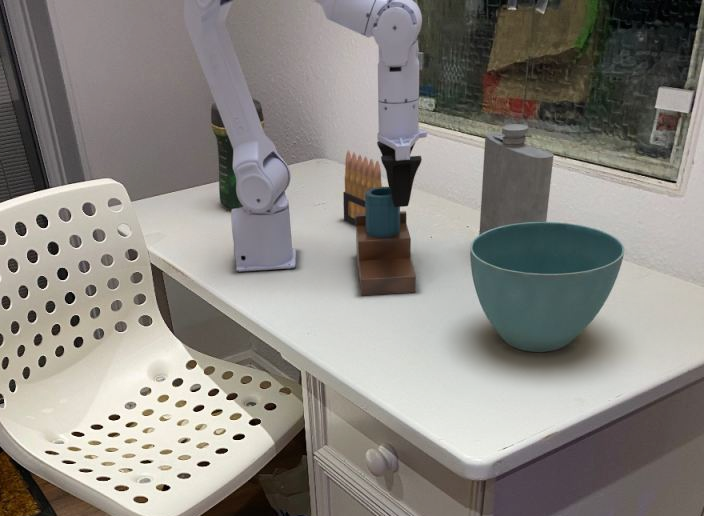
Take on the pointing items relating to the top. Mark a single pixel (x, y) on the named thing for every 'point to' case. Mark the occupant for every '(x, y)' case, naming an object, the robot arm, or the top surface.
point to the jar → (381, 213)
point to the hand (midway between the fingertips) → (398, 198)
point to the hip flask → (514, 179)
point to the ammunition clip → (358, 184)
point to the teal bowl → (543, 280)
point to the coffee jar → (227, 158)
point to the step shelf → (384, 260)
